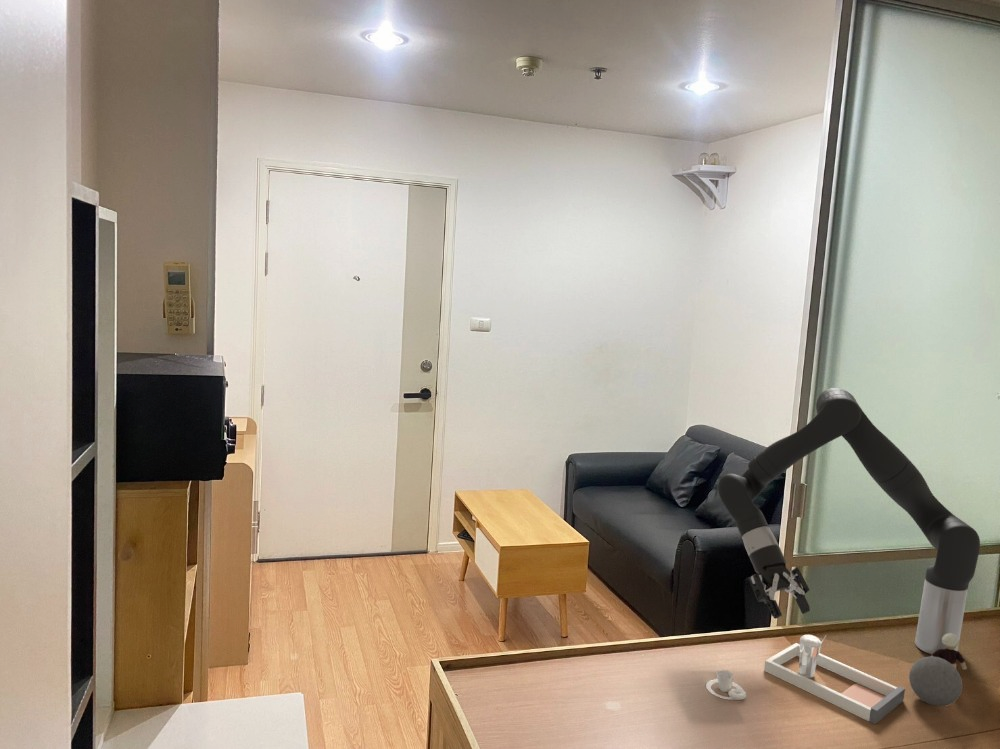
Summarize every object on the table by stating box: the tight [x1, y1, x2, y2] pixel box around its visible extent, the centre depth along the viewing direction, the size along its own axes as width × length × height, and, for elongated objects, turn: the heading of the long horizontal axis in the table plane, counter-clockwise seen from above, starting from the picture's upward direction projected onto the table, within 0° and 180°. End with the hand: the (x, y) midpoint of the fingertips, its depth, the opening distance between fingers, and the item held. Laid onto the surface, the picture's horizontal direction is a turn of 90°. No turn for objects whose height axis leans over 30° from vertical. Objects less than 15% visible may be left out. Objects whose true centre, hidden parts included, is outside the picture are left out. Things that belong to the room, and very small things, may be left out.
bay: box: [763, 642, 906, 725], centre depth 174 cm, size 14×25×3 cm, turn 41°
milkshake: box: [798, 634, 827, 679], centre depth 177 cm, size 4×5×10 cm
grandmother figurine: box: [931, 633, 967, 671], centre depth 176 cm, size 8×4×13 cm, turn 89°
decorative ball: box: [908, 655, 963, 707], centre depth 169 cm, size 10×10×10 cm
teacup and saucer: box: [705, 669, 747, 701], centre depth 169 cm, size 9×8×4 cm
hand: (792, 615), depth 182 cm, fingers open, 8 cm apart
